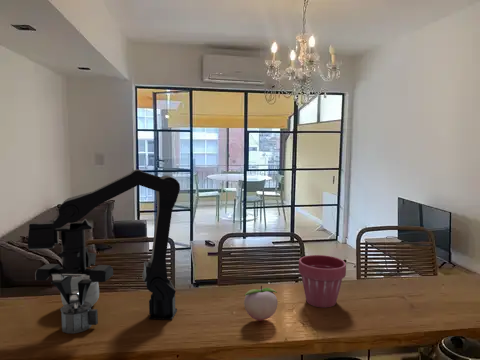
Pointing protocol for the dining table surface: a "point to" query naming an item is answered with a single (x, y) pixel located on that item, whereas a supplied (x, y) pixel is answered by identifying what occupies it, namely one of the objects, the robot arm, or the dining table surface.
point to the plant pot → (322, 279)
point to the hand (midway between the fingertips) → (76, 304)
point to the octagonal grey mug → (78, 317)
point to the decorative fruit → (260, 303)
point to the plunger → (74, 298)
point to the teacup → (91, 294)
